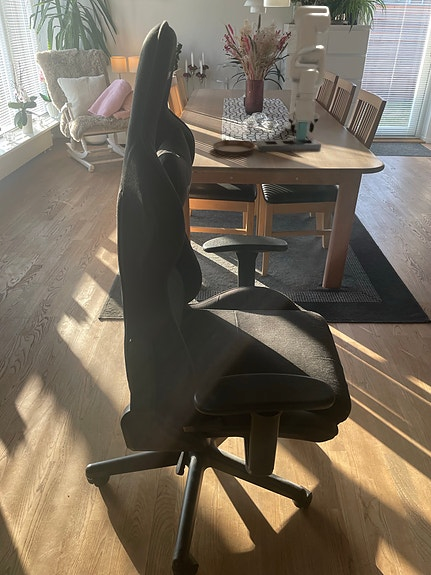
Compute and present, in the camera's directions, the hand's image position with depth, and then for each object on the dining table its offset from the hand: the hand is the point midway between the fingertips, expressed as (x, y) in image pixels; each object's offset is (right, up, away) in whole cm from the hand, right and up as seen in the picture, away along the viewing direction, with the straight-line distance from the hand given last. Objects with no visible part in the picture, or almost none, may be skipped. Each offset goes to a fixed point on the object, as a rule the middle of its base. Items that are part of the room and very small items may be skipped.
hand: (301, 132), depth 237 cm
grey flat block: (-8, -11, -7) cm, 15 cm away
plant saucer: (-35, -14, -13) cm, 40 cm away
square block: (0, -4, +3) cm, 5 cm away
